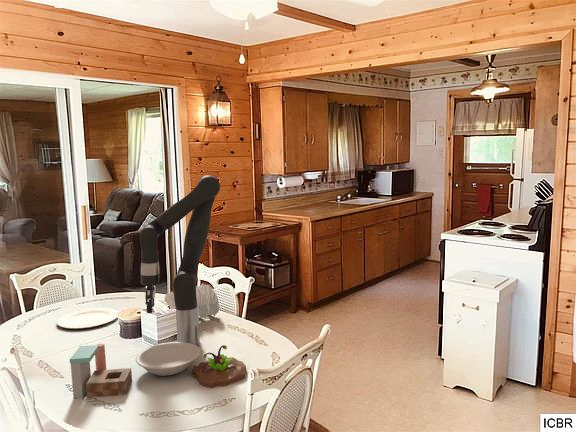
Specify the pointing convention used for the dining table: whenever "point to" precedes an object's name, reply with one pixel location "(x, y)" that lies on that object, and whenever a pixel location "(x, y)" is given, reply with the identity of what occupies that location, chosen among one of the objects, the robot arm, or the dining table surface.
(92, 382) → the socket
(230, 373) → the plant
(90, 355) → the teal-topped grey pillar
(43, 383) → the dining table surface
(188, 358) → the soup bowl
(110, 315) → the plate
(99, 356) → the peg
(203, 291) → the grey rounded lump
